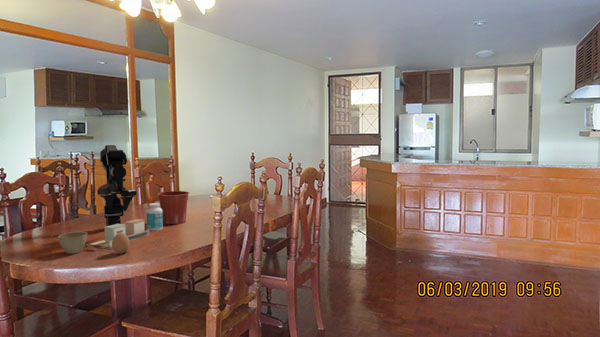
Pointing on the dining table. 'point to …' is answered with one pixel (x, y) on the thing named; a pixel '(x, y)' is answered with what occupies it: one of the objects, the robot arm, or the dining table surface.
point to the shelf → (131, 237)
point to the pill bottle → (154, 217)
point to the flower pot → (173, 206)
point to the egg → (120, 243)
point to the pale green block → (114, 231)
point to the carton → (135, 226)
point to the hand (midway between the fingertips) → (117, 210)
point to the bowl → (73, 241)
